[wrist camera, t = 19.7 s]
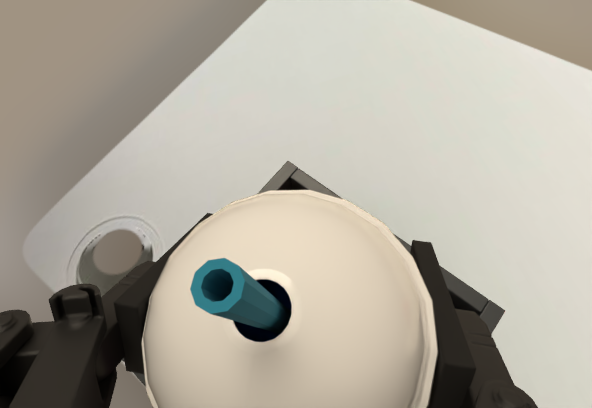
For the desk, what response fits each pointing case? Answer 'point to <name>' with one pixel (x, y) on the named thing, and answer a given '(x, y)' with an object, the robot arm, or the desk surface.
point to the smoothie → (290, 311)
